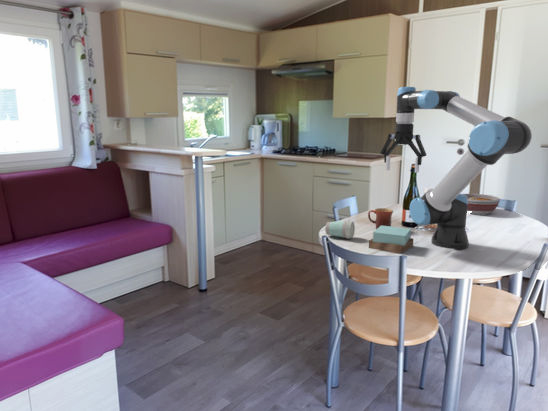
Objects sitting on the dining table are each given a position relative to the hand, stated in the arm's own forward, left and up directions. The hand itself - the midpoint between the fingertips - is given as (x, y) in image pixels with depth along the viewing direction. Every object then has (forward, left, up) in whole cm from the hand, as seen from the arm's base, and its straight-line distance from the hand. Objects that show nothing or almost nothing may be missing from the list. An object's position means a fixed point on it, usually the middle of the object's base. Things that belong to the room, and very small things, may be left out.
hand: (401, 171), depth 199 cm
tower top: (-4, +17, -27) cm, 32 cm away
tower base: (-4, +17, -31) cm, 36 cm away
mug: (+13, -8, -31) cm, 34 cm away
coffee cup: (+27, +18, -27) cm, 42 cm away
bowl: (-15, -77, -31) cm, 84 cm away
